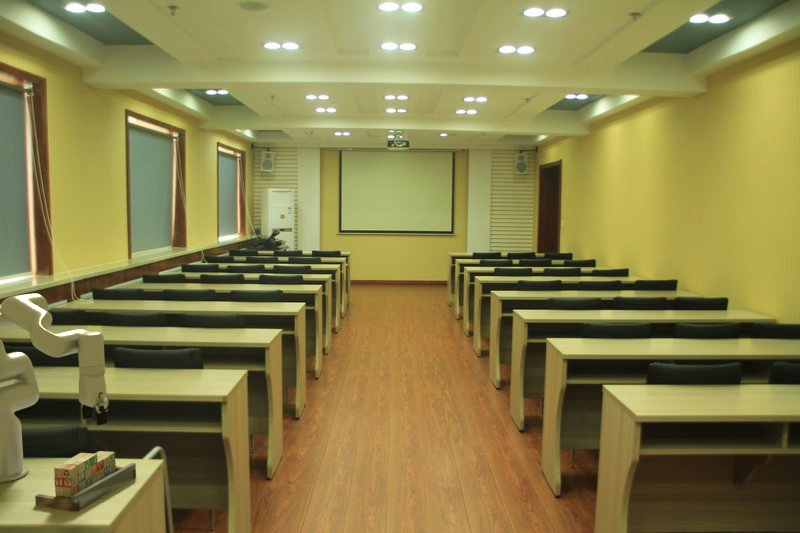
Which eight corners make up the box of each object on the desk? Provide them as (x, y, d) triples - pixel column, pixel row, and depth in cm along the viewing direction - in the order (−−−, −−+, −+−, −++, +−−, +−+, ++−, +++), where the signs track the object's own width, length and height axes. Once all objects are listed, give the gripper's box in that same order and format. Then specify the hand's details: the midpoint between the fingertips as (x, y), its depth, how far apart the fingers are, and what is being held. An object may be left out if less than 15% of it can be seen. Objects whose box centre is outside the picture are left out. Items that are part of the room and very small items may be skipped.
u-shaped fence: (35, 505, 192) (34, 489, 192) (98, 471, 217) (98, 457, 217) (76, 512, 188) (75, 496, 187) (136, 477, 213) (135, 463, 212)
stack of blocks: (100, 476, 214) (99, 442, 213) (116, 477, 213) (115, 443, 212) (55, 504, 193) (53, 467, 192) (72, 506, 192) (70, 468, 191)
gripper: (68, 368, 201) (70, 418, 202) (93, 376, 190) (96, 429, 192) (91, 363, 207) (93, 413, 208) (116, 371, 196) (119, 423, 197)
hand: (94, 421), depth 200 cm, fingers open, 9 cm apart
